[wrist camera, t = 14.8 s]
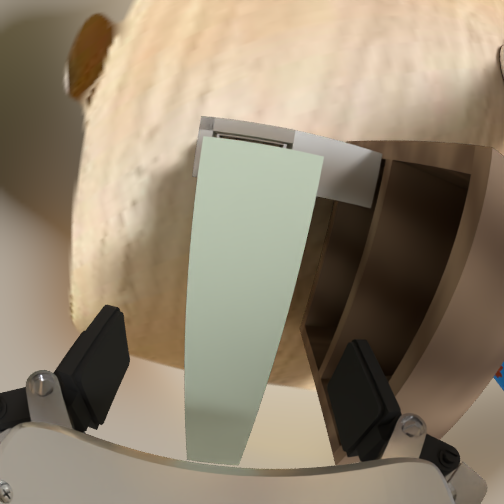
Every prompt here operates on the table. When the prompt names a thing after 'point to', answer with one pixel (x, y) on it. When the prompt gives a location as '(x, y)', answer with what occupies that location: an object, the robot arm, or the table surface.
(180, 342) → the table surface
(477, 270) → the cabinet
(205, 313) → the door
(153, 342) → the table surface
